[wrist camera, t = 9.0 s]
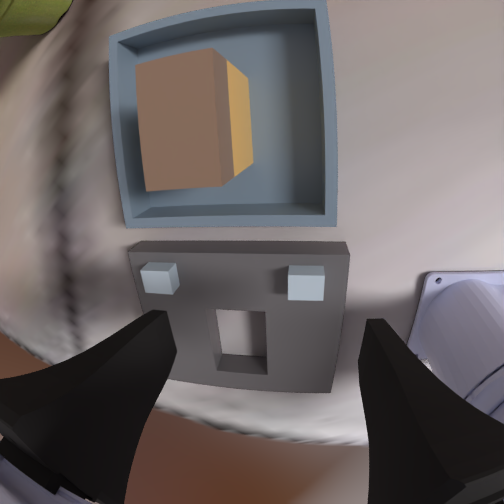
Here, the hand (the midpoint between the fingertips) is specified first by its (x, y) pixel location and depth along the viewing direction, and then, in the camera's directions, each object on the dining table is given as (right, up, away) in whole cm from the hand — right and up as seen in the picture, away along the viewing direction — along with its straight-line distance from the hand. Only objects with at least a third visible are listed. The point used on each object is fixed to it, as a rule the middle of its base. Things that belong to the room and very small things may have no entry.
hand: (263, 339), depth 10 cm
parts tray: (-2, +11, +6) cm, 13 cm away
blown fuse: (-2, +10, +5) cm, 12 cm away
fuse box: (-1, -2, +11) cm, 12 cm away
